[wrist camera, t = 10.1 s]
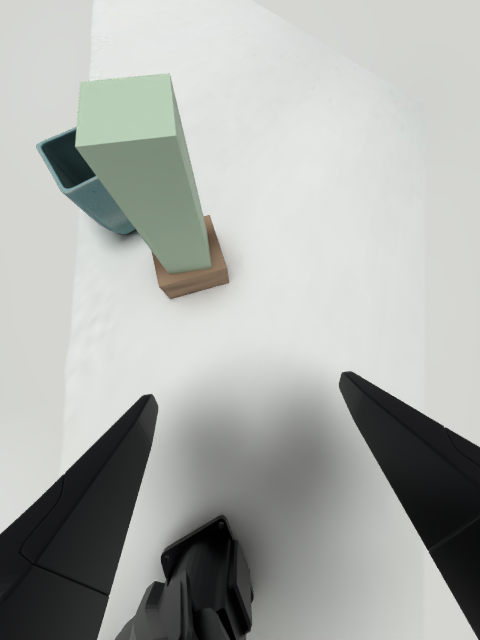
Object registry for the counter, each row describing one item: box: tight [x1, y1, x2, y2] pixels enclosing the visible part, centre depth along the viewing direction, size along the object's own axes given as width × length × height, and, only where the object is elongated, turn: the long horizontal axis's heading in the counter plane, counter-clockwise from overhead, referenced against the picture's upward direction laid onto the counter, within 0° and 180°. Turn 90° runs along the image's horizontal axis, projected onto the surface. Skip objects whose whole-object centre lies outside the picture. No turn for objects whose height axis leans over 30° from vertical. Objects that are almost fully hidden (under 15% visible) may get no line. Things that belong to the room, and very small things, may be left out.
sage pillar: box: [75, 73, 212, 274], centre depth 16 cm, size 5×5×13 cm
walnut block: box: [152, 215, 229, 299], centre depth 25 cm, size 8×8×4 cm
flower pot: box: [36, 127, 135, 234], centre depth 25 cm, size 9×9×9 cm
